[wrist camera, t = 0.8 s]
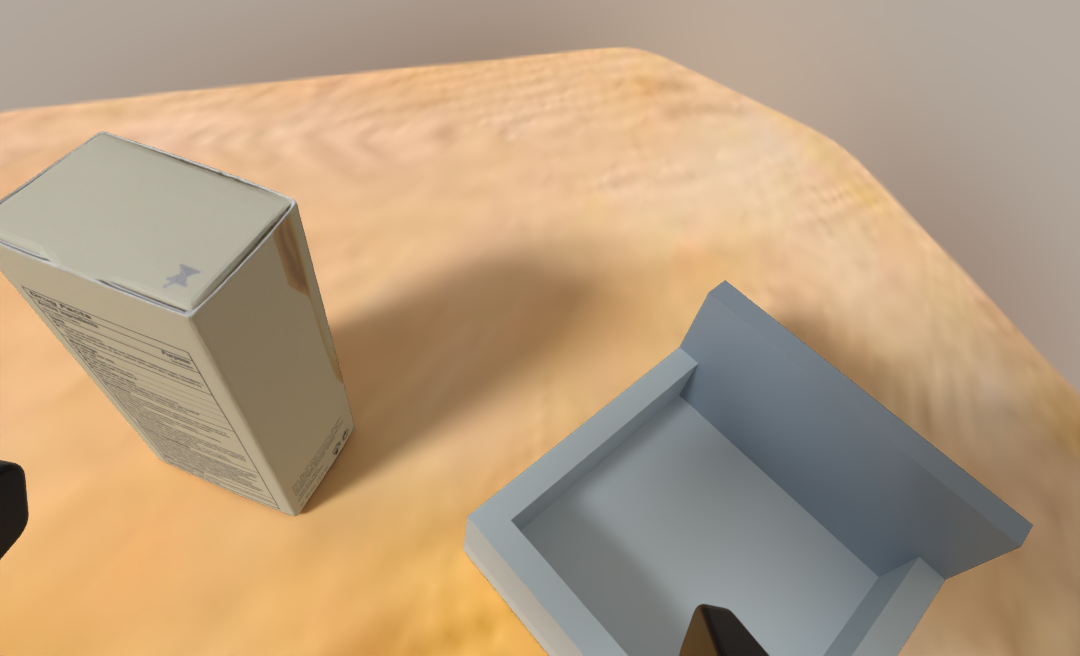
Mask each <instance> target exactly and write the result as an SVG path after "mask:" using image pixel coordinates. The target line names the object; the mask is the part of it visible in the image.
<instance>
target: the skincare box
mask: <svg viewBox="0 0 1080 656" xmlns="http://www.w3.org/2000/svg"><path fill="white" fill-rule="evenodd" d="M0 271H1V272H2V273H3V274H4V275H5V277H6V278H7V279H8V280H9V281H10V283H11V284H12V285H13V286H14V287H15V288H16V290H17V291H18V292H19V293H20V294H21V296H22V297H23V298H24V299H25V300H26V301H27V303H28V304H29V305H30V306H31V307H32V308H33V310H34V311H35V312H36V313H37V314H38V316H39V317H40V318H41V319H42V321H43V322H44V323H45V324H46V325H47V327H48V328H49V329H50V330H51V331H52V333H53V334H54V335H55V336H56V337H57V338H58V340H59V341H60V342H61V343H62V344H63V346H64V347H65V348H66V349H67V350H68V352H69V353H70V354H71V355H72V356H73V357H74V359H75V360H76V361H77V362H78V363H79V365H80V366H81V367H82V368H83V369H84V370H85V372H86V373H87V374H88V375H89V376H90V378H91V379H92V380H93V381H94V382H95V383H96V385H97V386H98V387H99V388H100V389H101V391H102V392H103V393H104V394H105V395H106V397H107V398H108V399H109V400H110V401H111V402H112V404H113V405H114V406H115V407H116V408H117V410H118V411H119V412H120V413H121V414H122V416H123V417H124V418H125V419H126V420H127V421H128V423H129V424H130V425H131V426H132V427H133V429H134V430H135V431H136V432H137V433H138V435H139V436H140V437H141V438H142V439H143V441H144V442H145V443H146V444H147V445H148V447H149V448H150V449H151V450H152V451H153V453H154V454H155V455H156V456H157V457H158V458H159V459H160V460H162V461H164V462H166V463H168V464H170V465H172V466H174V467H177V468H179V469H181V470H183V471H185V472H187V473H189V474H192V475H194V476H196V477H198V478H200V479H203V480H205V481H207V482H210V483H212V484H214V485H217V486H219V487H221V488H224V489H226V490H228V491H231V492H233V493H236V494H238V495H240V496H243V497H245V498H248V499H250V500H253V501H255V502H258V503H260V504H263V505H265V506H268V507H270V508H273V509H276V510H278V511H281V512H284V513H286V514H289V515H291V516H297V515H298V514H299V513H300V512H301V510H302V509H303V507H304V506H305V504H306V503H307V501H308V500H309V498H310V497H311V496H312V494H313V493H314V491H315V490H316V488H317V487H318V485H319V484H320V482H321V481H322V479H323V478H324V476H325V475H326V473H327V472H328V470H329V469H330V467H331V465H332V464H333V462H334V461H335V459H336V458H337V456H338V454H339V453H340V451H341V449H342V448H343V446H344V444H345V443H346V441H347V439H348V438H349V436H350V434H351V432H352V431H353V429H354V421H353V418H352V414H351V409H350V406H349V402H348V398H347V394H346V390H345V386H344V382H343V379H342V376H341V371H340V368H339V364H338V360H337V356H336V352H335V348H334V344H333V340H332V336H331V332H330V328H329V325H328V321H327V317H326V314H325V309H324V305H323V302H322V298H321V294H320V291H319V287H318V283H317V279H316V275H315V272H314V268H313V264H312V260H311V256H310V252H309V248H308V245H307V241H306V237H305V233H304V229H303V225H302V222H301V218H300V214H299V210H298V205H297V203H296V201H295V200H294V199H292V198H290V197H287V196H285V195H282V194H280V193H278V192H276V191H273V190H270V189H268V188H265V187H263V186H260V185H258V184H255V183H252V182H250V181H247V180H245V179H241V178H239V177H237V176H234V175H231V174H228V173H226V172H223V171H220V170H217V169H214V168H211V167H209V166H206V165H203V164H200V163H197V162H194V161H191V160H188V159H185V158H183V157H180V156H177V155H174V154H171V153H168V152H165V151H162V150H159V149H156V148H154V147H150V146H147V145H144V144H141V143H138V142H135V141H132V140H128V139H125V138H122V137H119V136H116V135H113V134H110V133H108V132H99V133H97V134H96V135H94V136H93V137H91V138H90V139H89V140H87V141H86V142H85V143H83V144H82V145H80V146H79V147H77V148H76V149H75V150H73V151H72V152H70V153H68V154H67V155H65V156H64V157H63V158H61V159H60V160H58V161H57V162H55V163H54V164H53V165H51V166H49V167H48V168H46V169H45V170H43V171H42V172H41V173H39V174H38V175H36V176H35V177H33V178H32V179H31V180H29V181H28V182H26V183H25V184H23V185H22V186H20V187H19V188H17V189H16V190H15V191H13V192H12V193H10V194H9V195H7V196H6V197H4V198H3V199H1V200H0Z"/></svg>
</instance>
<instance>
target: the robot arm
mask: <svg viewBox="0 0 1080 656" xmlns="http://www.w3.org/2000/svg"><path fill="white" fill-rule="evenodd" d="M27 521H28V502H27V491H26V480H25V473H24V470H23V469H22V467H21V466H20V465H18V464H16V463H12V462H7V461H3V460H0V559H1V558H2V557H3V556H4V555H5V553H6V552H7V551H8V550H9V549H10V547H11V546H12V545H13V544H14V543H15V542H16V540H17V539H18V538H19V537H20V535H21V534H22V532H23V531H24V529H25V527H26V524H27ZM679 656H769V654H768V653H767V652H766V651H765V650H764V649H763V647H762V646H761V645H760V644H759V643H758V641H757V640H756V639H755V638H754V637H753V636H752V634H751V633H750V632H749V631H748V630H747V629H746V627H745V626H744V625H743V624H742V623H741V621H740V620H739V619H738V618H737V617H736V616H735V614H734V613H733V612H732V611H730V610H729V609H727V608H723V607H718V606H714V605H709V604H700V605H698V606H697V607H696V609H695V610H694V613H693V615H692V618H691V621H690V624H689V626H688V629H687V632H686V635H685V638H684V640H683V643H682V646H681V649H680V653H679Z"/></svg>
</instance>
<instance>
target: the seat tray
mask: <svg viewBox="0 0 1080 656" xmlns="http://www.w3.org/2000/svg"><path fill="white" fill-rule="evenodd" d="M1032 526H1033V525H1032V524H1031V523H1030V522H1028V521H1027V520H1026V519H1025V518H1023V517H1022V516H1021V515H1020V514H1018V513H1017V512H1016V511H1015V510H1013V509H1012V508H1011V507H1009V506H1008V505H1007V504H1006V503H1004V502H1003V501H1002V500H1001V499H999V498H998V497H997V496H996V495H994V494H993V493H992V492H991V491H989V490H988V489H987V488H986V487H984V486H983V485H982V484H981V483H979V482H978V481H977V480H976V479H974V478H973V477H972V476H971V475H969V474H968V473H967V472H966V471H964V470H963V469H962V468H960V467H959V466H958V465H957V464H955V463H954V462H953V461H952V460H950V459H949V458H948V457H947V456H945V455H944V454H943V453H942V452H940V451H939V450H938V449H937V448H935V447H934V446H933V445H932V444H930V443H929V442H928V441H927V440H925V439H924V438H923V437H922V436H920V435H919V434H918V433H917V432H915V431H914V430H913V429H912V428H910V427H909V426H908V425H906V424H905V423H904V422H903V421H901V420H900V419H899V418H898V417H896V416H895V415H894V414H893V413H891V412H890V411H889V410H888V409H886V408H885V407H884V406H883V405H881V404H880V403H879V402H878V401H876V400H875V399H874V398H873V397H871V396H870V395H869V394H868V393H866V392H865V391H864V390H863V389H861V388H860V387H859V386H858V385H856V384H855V383H854V382H852V381H851V380H850V379H849V378H847V377H846V376H845V375H844V374H842V373H841V372H840V371H839V370H837V369H836V368H835V367H834V366H832V365H831V364H830V363H829V362H827V361H826V360H825V359H824V358H822V357H821V356H820V355H819V354H817V353H816V352H815V351H814V350H812V349H811V348H810V347H809V346H807V345H806V344H805V343H803V342H802V341H801V340H800V339H798V338H797V337H796V336H795V335H793V334H792V333H791V332H790V331H788V330H787V329H786V328H785V327H783V326H782V325H781V324H780V323H778V322H777V321H776V320H775V319H773V318H772V317H771V316H770V315H768V314H767V313H766V312H765V311H763V310H762V309H761V308H760V307H758V306H757V305H756V304H755V303H753V302H752V301H751V300H749V299H748V298H747V297H746V296H744V295H743V294H742V293H741V292H739V291H738V290H737V289H736V288H734V287H733V286H732V285H731V284H729V283H728V282H727V281H726V280H725V281H723V282H722V283H721V284H719V285H718V286H717V287H715V288H714V289H713V290H712V291H710V292H709V293H708V295H707V297H706V299H705V301H704V303H703V304H702V306H701V308H700V310H699V312H698V314H697V315H696V317H695V319H694V321H693V323H692V325H691V327H690V328H689V330H688V332H687V334H686V336H685V338H684V340H683V341H682V343H681V345H680V347H679V348H678V349H676V350H675V351H674V352H673V353H671V354H670V355H669V356H668V357H666V358H665V359H664V360H663V361H661V362H660V363H659V364H658V365H656V366H655V367H654V368H653V369H651V370H650V371H649V372H648V373H646V374H645V375H644V376H643V377H641V378H640V379H639V380H638V381H636V382H635V383H634V384H633V385H631V386H630V387H629V388H628V389H626V390H625V391H624V392H623V393H621V394H620V395H619V396H618V397H616V398H615V399H614V400H613V401H611V402H610V403H609V404H607V405H606V406H605V407H604V408H602V409H601V410H600V411H599V412H597V413H596V414H595V415H594V416H592V417H591V418H590V419H589V420H587V421H586V422H585V423H584V424H582V425H581V426H580V427H579V428H577V429H576V430H575V431H574V432H572V433H571V434H570V435H569V436H567V437H566V438H565V439H564V440H562V441H561V442H560V443H559V444H557V445H556V446H555V447H554V448H552V449H551V450H550V451H549V452H547V453H546V454H545V455H544V456H542V457H541V458H540V459H539V460H537V461H536V462H535V463H534V464H532V465H531V466H530V467H529V468H527V469H526V470H525V471H524V472H522V473H521V474H520V475H519V476H517V477H516V478H515V479H514V480H512V481H511V482H510V483H509V484H507V485H506V486H505V487H504V488H502V489H501V490H500V491H499V492H497V493H496V494H495V495H494V496H492V497H491V498H490V499H489V500H487V501H486V502H485V503H484V504H482V505H481V506H480V507H479V508H477V509H476V510H475V511H474V512H472V513H471V514H470V515H468V516H467V525H466V533H465V541H464V551H465V553H466V554H467V555H468V556H469V558H470V559H471V560H472V561H473V563H474V564H475V565H476V566H477V567H478V569H479V570H480V571H481V572H482V574H483V575H484V576H485V577H486V579H487V580H488V581H489V582H490V584H491V585H492V586H493V587H494V588H495V590H496V591H497V592H498V593H499V595H500V596H501V597H502V598H503V600H504V601H505V602H506V603H507V604H508V606H509V607H510V608H511V609H512V611H513V612H514V613H515V614H516V616H517V617H518V618H519V619H520V620H521V622H522V623H523V624H524V625H525V627H526V628H527V629H528V630H529V632H530V633H531V634H532V635H533V637H534V638H535V639H536V640H537V641H538V643H539V644H540V645H541V646H542V648H543V649H544V650H545V651H546V653H547V654H548V655H549V656H679V653H680V649H681V646H682V643H683V640H684V638H685V635H686V632H687V629H688V626H689V624H690V621H691V618H692V615H693V613H694V610H695V609H696V607H697V606H698V605H700V604H709V605H714V606H718V607H723V608H727V609H729V610H730V611H732V612H733V613H734V614H735V616H736V617H737V618H738V619H739V620H740V621H741V623H742V624H743V625H744V626H745V627H746V629H747V630H748V631H749V632H750V633H751V634H752V636H753V637H754V638H755V639H756V640H757V641H758V643H759V644H760V645H761V646H762V647H763V649H764V650H765V651H766V652H767V653H768V654H769V656H897V655H898V654H899V652H900V650H901V649H902V647H903V646H904V644H905V643H906V641H907V639H908V638H909V636H910V635H911V633H912V632H913V630H914V628H915V627H916V625H917V624H918V622H919V620H920V619H921V617H922V616H923V614H924V613H925V611H926V609H927V608H928V606H929V605H930V603H931V601H932V600H933V598H934V597H935V595H936V594H937V592H938V590H939V589H940V587H941V586H942V584H943V582H944V581H945V580H946V579H948V578H950V577H952V576H955V575H957V574H959V573H962V572H964V571H966V570H968V569H971V568H973V567H975V566H978V565H980V564H982V563H984V562H987V561H989V560H991V559H994V558H996V557H998V556H1000V555H1003V554H1005V553H1007V552H1010V551H1012V550H1014V549H1016V548H1019V547H1021V545H1022V544H1023V542H1024V540H1025V538H1026V537H1027V535H1028V533H1029V531H1030V529H1031V528H1032Z"/></svg>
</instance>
